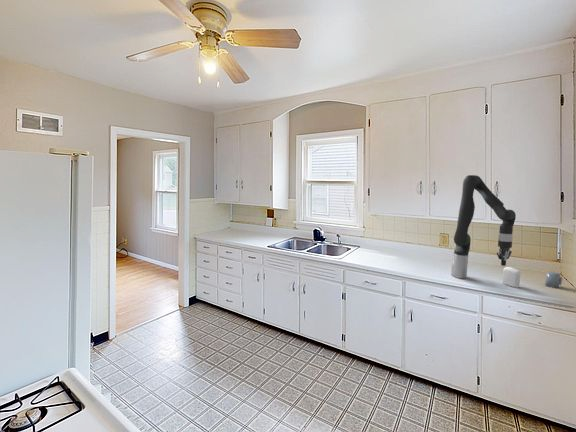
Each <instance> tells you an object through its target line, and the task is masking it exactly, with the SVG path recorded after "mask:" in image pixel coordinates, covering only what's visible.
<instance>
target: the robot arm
mask: <svg viewBox="0 0 576 432" xmlns="http://www.w3.org/2000/svg"><path fill="white" fill-rule="evenodd" d="M462 181H463V182H462V190H461V191H462V193H461V199H460V200H461V201H460V205H459V210H458V216H457V225H456V229H455V233H454V236H453V243H454V244H455V248H454V251H453V262H452V264H451V272H450V273H451V274H450V275H451V276H452V277H453V278H456V279H467V278H468V265H469V253H470V249H471V242H472V241H471V235H470V234H469V233H468V231H469V227H470V225H471V223H472V221H473V219H474V215H475V210H476V209H475V208H476V206H475V199H474V192H475V191H477V192H478V194H480V195H481V197H482V198H483V200H484V202H485V203H486V205H488V206H489V207H490V208H491V209H492V210H493V212H494V213H495V215H496V217H497V218H498V219H500V220H501V221H502V223H500V225H499V229H498V230H499V231H498V232H499V234H498V239H497V240H498V242H497V247H499V249H498V250H499V252H496V255H497V257H498V260H501V262H500V266H501V267H502V266H503V267H507V260H509V259H510V257H511V255H512V251H511V250H510V249H512V247H513V237H514V235H513V230H514V229H513V228H514V225H515V221H516V215H517V214H516V212H515V210H513V209H506V207H505V205H504V203H503V202H502V201H501V200H500V198H499V197H497V196H496V195H495V193H493V191H491V190H490V188H489V187H488V186H487V185H486V183H485V182H484V180H483V179H482V178H481V177H480V176H478V175H475V174H473V175H471V174H470V175H469V174H468V175H467V176H465V177H464V178H463V180H462Z"/></svg>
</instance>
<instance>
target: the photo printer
mask: <svg viewBox="0 0 576 432" xmlns="http://www.w3.org/2000/svg"><path fill="white" fill-rule="evenodd" d="M520 279H521V271H520V270H519V269H517V268H515V267H510V266H504V268H503V271H502V284H504V285H506V286H510V287H513V288H515V289H518V288H520V281H521V280H520Z"/></svg>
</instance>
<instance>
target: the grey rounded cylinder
mask: <svg viewBox="0 0 576 432" xmlns="http://www.w3.org/2000/svg"><path fill="white" fill-rule="evenodd" d="M544 282H545V283H544V285H545V287H548V288H551V287H552V288H553V289H559V287H560V286H562V283H563V277H562V276H561V274H560V273H559V272H555V271H546V273H545V281H544Z"/></svg>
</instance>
